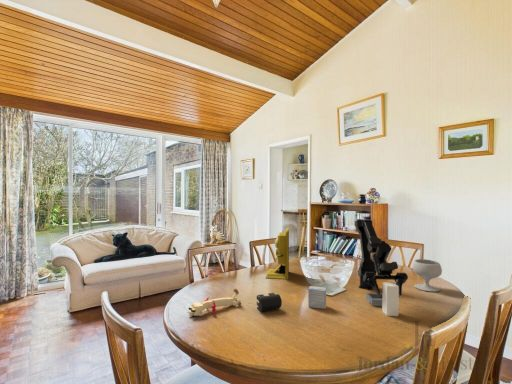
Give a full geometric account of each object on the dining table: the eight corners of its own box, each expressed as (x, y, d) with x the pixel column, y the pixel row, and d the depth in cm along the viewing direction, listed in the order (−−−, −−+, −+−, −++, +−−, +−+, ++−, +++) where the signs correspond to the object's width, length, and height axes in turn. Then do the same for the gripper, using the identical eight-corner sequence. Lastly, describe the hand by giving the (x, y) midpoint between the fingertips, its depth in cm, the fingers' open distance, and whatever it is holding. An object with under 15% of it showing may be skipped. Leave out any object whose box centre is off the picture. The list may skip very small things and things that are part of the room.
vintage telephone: (269, 267, 198) (269, 225, 198) (289, 268, 196) (289, 225, 196) (264, 281, 167) (264, 231, 167) (287, 283, 165) (288, 232, 165)
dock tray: (366, 298, 142) (366, 292, 142) (383, 299, 141) (384, 293, 141) (372, 305, 133) (372, 299, 133) (391, 306, 132) (391, 300, 132)
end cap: (261, 314, 123) (261, 299, 123) (255, 308, 130) (255, 294, 130) (281, 311, 127) (282, 296, 127) (275, 305, 133) (275, 291, 133)
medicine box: (326, 305, 133) (326, 287, 133) (325, 309, 128) (325, 290, 128) (309, 303, 135) (309, 285, 135) (308, 307, 131) (308, 288, 131)
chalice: (414, 290, 153) (414, 263, 153) (410, 283, 166) (411, 257, 166) (444, 294, 148) (444, 266, 148) (438, 286, 161) (438, 260, 161)
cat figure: (232, 303, 139) (183, 311, 124) (233, 285, 139) (185, 291, 125) (243, 310, 131) (192, 320, 116) (244, 291, 131) (194, 298, 116)
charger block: (382, 310, 127) (382, 282, 127) (393, 311, 127) (393, 282, 127) (386, 315, 123) (386, 286, 122) (398, 316, 122) (398, 286, 122)
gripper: (365, 254, 131) (373, 286, 120) (406, 255, 130) (418, 287, 119) (359, 267, 139) (367, 297, 128) (398, 267, 138) (409, 298, 127)
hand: (390, 295), depth 125 cm, fingers open, 9 cm apart
